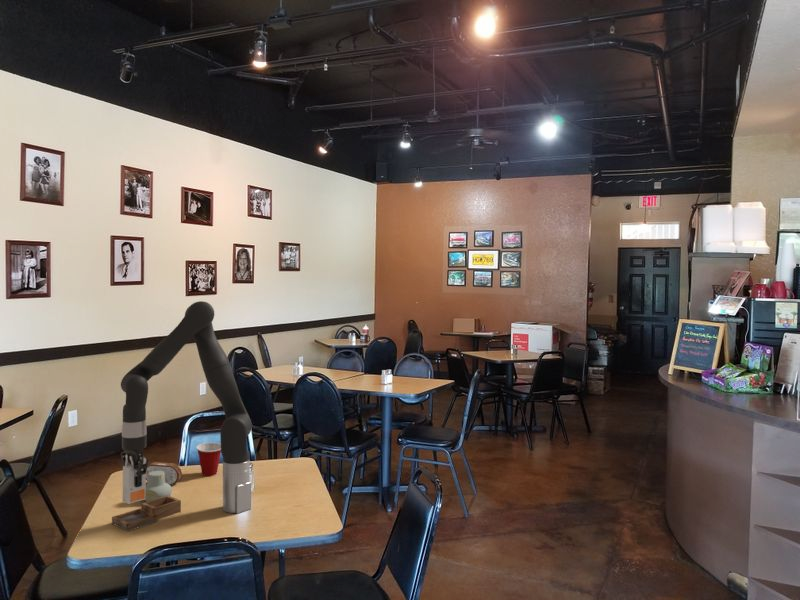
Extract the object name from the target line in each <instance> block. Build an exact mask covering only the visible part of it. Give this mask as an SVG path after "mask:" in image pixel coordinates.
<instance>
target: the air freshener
mask: <svg viewBox="0 0 800 600" xmlns="http://www.w3.org/2000/svg"><path fill="white" fill-rule="evenodd" d="M146 482H147V483H146V493H145V500H144V501H145V502H148V501H151V500H154V499H158V498H161V497H164V496H171V495H172V493H173V488H172V485H169V484H167V483H165V473H164V472H163V471H152V472H150V473H148V476H147V480H146Z"/></svg>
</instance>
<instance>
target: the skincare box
mask: <svg viewBox="0 0 800 600" xmlns="http://www.w3.org/2000/svg"><path fill="white" fill-rule="evenodd" d="M135 466H139V465H135ZM137 472H138V468H137ZM134 476H135V475H134V469H133V468H132V465H131V464H130V465H126V466H122V502H123V503H125V504H127V505H130V504H133V503H137V502H140V501H145V493H146V485H147V483H146V482H147V480H146V474H143V475H142V486H140V487H135V486H134Z"/></svg>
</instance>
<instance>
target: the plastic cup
mask: <svg viewBox="0 0 800 600" xmlns="http://www.w3.org/2000/svg"><path fill="white" fill-rule="evenodd" d="M196 451H197V453H198V459H199V464H200V468H201V469H200V470H201V475H202V476H204V477H212V476H216V475H217V472H218V469H219V466H220V465H219V463H220V460H221V459H220V458H221V455H222V454H221V443H219V442H205V443H200V444H198V445H196Z"/></svg>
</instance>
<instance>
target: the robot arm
mask: <svg viewBox="0 0 800 600" xmlns="http://www.w3.org/2000/svg"><path fill="white" fill-rule="evenodd" d="M214 318H215V310H214V306H213V305H212V304H210V303H209V302H207V301H202V300H201V301H200V300H199V301H195V302H193V303H192V304H190V305H189V306H188V307H187V308H186V310H185V312H184V317H183V318H182V319H181V321H180V322H179V323H178V324H177V326H175V328H174V329H173V330H172V331H171V332H170V333H169V334H168V335H167V336H166V337H164V338H163V339H162V340H161V341H160V342H159V343H158V344H157V345H156V346H155V347H154V348H153V349H152V350H151V351H150V352H148V354H147V355H146V356H145V357H144V358H143V360H142V361H140V362H139V363H138V364H136V365H135V366H134V367H133V368H131V369H130V370H129V371H128V372H127V373H126V374H125V375H124V376H123V377H122V379H121V381H120V389H121V390H122V391H123V392H124V393H125V404H123V408H122V425H121V449H122V450H123V451H121V452H120V458H121V459H120V460H121V464H122V467H123V466H126V465H130V464H131V465H132V468H133V469H134V475H135V476H134V486H135V487H140V486H142V475H143V474H146V471H147V466H148V465H149V464H148V463H149V457H145V456H144V452H143V451H144V450H145V448H147V441H148V440H147V439H148V438H147V435H148V434H147V433H148V431H147V420H146V419H147V410H146V409H147V408H146V405H147V401H148V395H149V384H148V381H149V380H150V379H152V378H153V377H154V376H158V375H159V374H161V373H162V372H163V370H164V369H165V368H166V367H167V366H168V365H169V364H170V363H171V362H172V361H173V359H174V358H175V357H177V355H178V353H179V352H180V351H182V349H183V348H184V347H185V345H186V344H187V343H188V342H189V341H190V340H191V339H192V338H193V340H194V342H195V345H196V348H197V352H198V353H197V354H198V356H199V360H200V363H201V366H202V371H203V374H204V376H205V380H206V382H207V384H208V386H209V388H210V390H211V391H212V393H213V394H214V395H215V396H216V398H217V399H218V401H219V402H220V405H221V406H222V409H223V413H224V417H225V420H224V421H223V422H222V424H221V427H220V434H219V435H220V438H219V439H220V444H221V454H220V455H221V456H222V511H224V513H230V514H240V513H243V512H246V511H249V510H251V509H252V482H251V481H250V480H251V479H250V470H251V469H250V468H251V467H250V465H251V464H250V463H251V462H250V461H251V459H250V457H251V456H250V455H251V454H250V453H251V452H250V451H249V450H248V436H249V435H250V433H251V432H252V428H253V423H252V420H251V418H250V415H249V413H248V411H247V409H246V406H245V405H244V402H243V399H242V397H241V395H240V391H239V388H238V384H237V382H236V378H235V375H234V372H233V368H232V366H231V363H230V360H229V358H228V356H227V354H226V352H225V351H224V349H223V347H222V346H221V344H220V342H219V341H218V338H217V335H216V334H215V329H214V325H213V321H214ZM135 465H139V466H135ZM137 468H138V472H137Z"/></svg>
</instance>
